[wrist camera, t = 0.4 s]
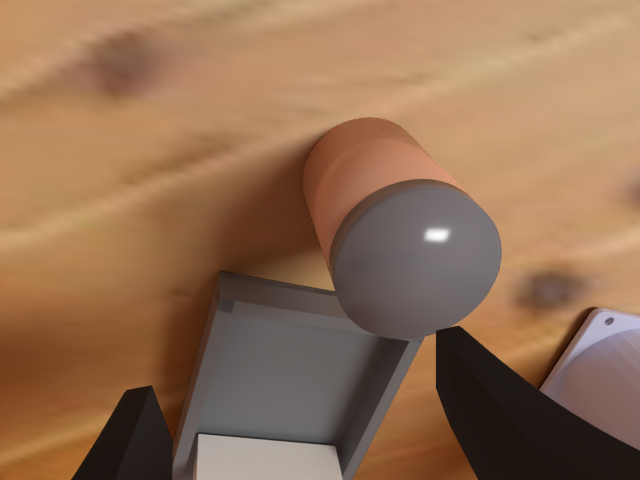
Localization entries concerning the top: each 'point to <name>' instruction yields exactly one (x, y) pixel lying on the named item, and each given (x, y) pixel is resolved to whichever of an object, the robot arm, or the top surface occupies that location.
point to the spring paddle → (262, 460)
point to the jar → (397, 231)
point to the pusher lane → (288, 372)
